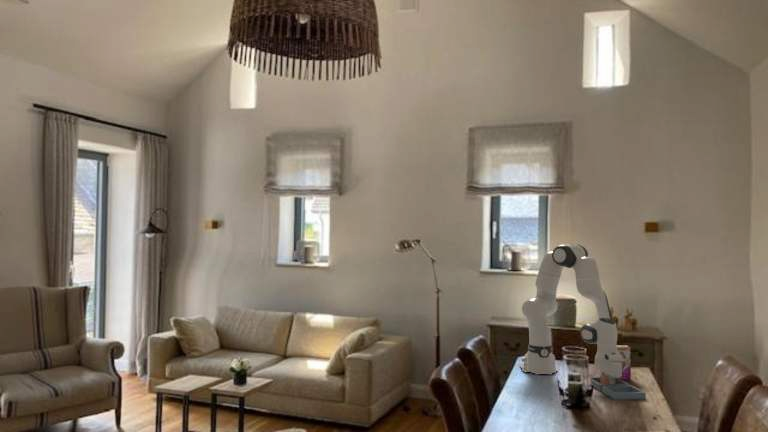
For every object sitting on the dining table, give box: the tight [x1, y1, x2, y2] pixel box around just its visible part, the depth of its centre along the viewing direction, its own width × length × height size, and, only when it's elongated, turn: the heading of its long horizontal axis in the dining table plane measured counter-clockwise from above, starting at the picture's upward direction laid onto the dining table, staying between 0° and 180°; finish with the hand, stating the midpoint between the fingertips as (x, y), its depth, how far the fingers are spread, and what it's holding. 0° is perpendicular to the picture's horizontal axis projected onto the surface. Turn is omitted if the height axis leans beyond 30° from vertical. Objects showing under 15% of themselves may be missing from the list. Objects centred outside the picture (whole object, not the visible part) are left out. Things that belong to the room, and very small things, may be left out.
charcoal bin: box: [590, 376, 631, 393], centre depth 273 cm, size 14×14×3 cm
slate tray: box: [601, 384, 646, 401], centre depth 258 cm, size 12×14×3 cm
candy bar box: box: [606, 345, 632, 381], centre depth 287 cm, size 11×5×16 cm, turn 84°
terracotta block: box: [599, 374, 615, 385], centre depth 273 cm, size 5×5×5 cm
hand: (607, 382), depth 273 cm, fingers closed on terracotta block, 5 cm apart
